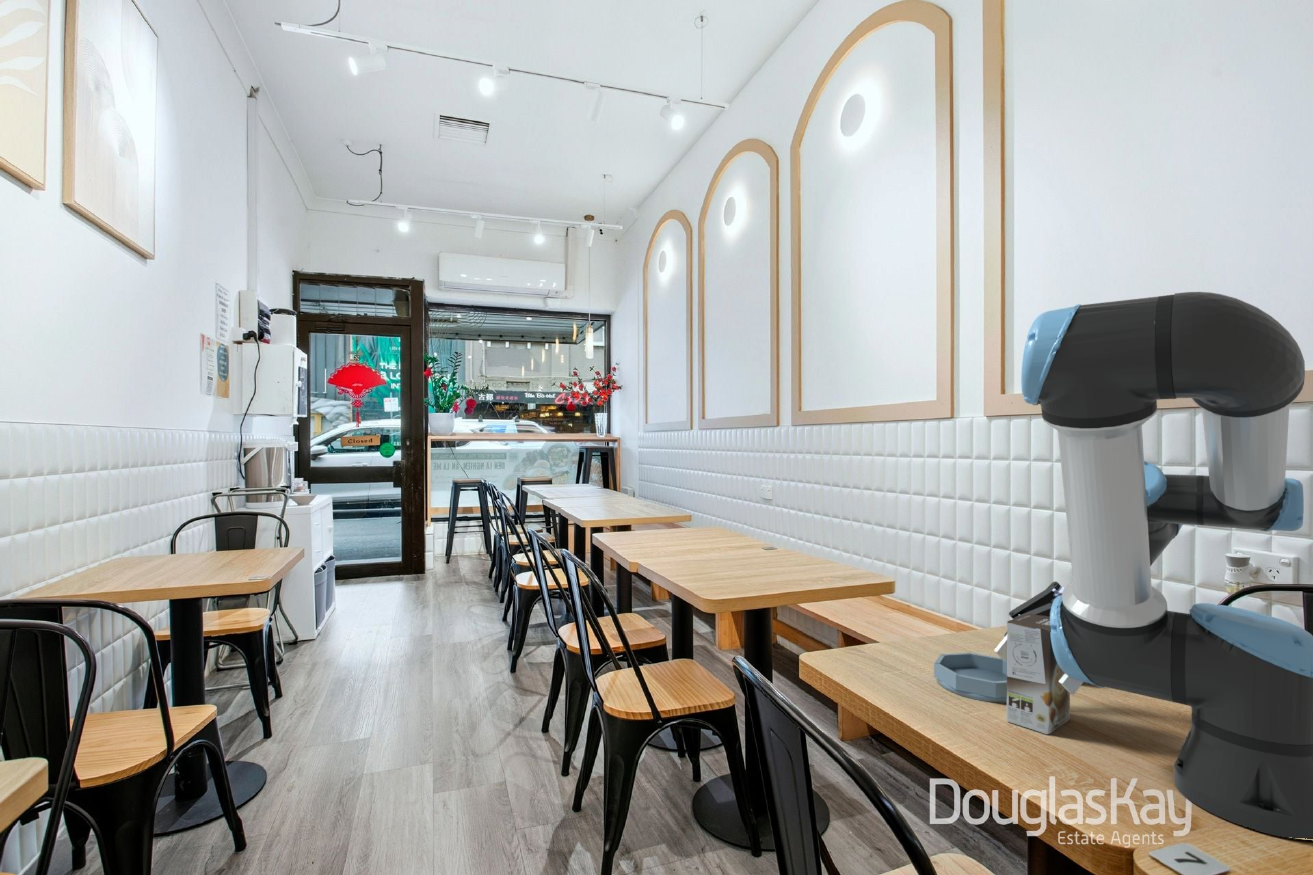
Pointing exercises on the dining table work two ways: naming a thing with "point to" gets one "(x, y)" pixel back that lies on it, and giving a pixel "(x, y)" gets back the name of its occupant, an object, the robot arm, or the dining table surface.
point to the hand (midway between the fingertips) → (1030, 671)
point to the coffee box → (1034, 676)
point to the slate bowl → (973, 676)
